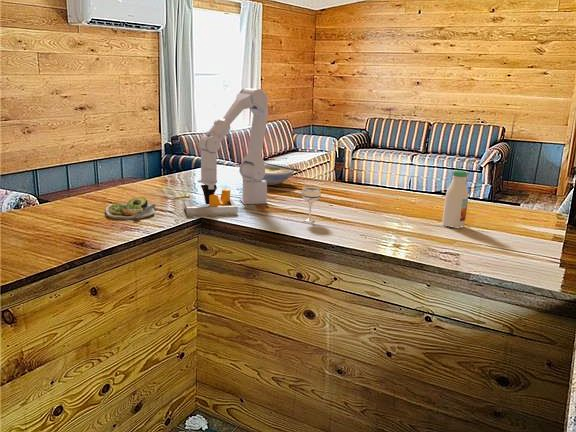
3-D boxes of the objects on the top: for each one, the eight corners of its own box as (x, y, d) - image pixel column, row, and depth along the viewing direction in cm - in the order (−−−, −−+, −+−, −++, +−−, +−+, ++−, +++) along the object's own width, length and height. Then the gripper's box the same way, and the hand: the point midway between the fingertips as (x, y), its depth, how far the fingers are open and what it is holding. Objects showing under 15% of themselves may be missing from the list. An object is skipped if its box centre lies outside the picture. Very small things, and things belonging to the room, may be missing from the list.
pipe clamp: (219, 204, 204) (220, 188, 202) (230, 206, 202) (230, 189, 200) (205, 212, 193) (205, 194, 191) (215, 213, 191) (215, 196, 190)
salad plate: (161, 221, 180) (161, 208, 179) (106, 224, 174) (105, 210, 173) (155, 207, 197) (155, 195, 196) (105, 209, 192) (104, 196, 190)
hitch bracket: (231, 206, 201) (232, 199, 201) (237, 214, 191) (237, 206, 190) (184, 207, 197) (184, 200, 196) (187, 216, 186) (187, 208, 185)
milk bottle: (452, 229, 184) (460, 173, 178) (437, 224, 190) (444, 169, 185) (468, 227, 187) (476, 172, 182) (453, 222, 194) (460, 168, 189)
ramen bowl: (232, 182, 245) (233, 164, 243) (269, 177, 260) (270, 160, 258) (267, 192, 227) (268, 173, 225) (305, 186, 242) (306, 168, 240)
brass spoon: (188, 196, 215) (188, 194, 215) (191, 197, 213) (191, 195, 213) (173, 198, 211) (173, 196, 211) (176, 199, 210) (176, 197, 209)
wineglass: (309, 217, 192) (311, 184, 189) (323, 221, 187) (325, 188, 184) (296, 220, 187) (297, 187, 184) (310, 224, 183) (311, 190, 179)
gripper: (195, 164, 200) (195, 199, 203) (200, 172, 186) (200, 209, 190) (214, 164, 201) (214, 199, 205) (220, 172, 188) (219, 208, 192)
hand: (208, 204), depth 198 cm, fingers closed
